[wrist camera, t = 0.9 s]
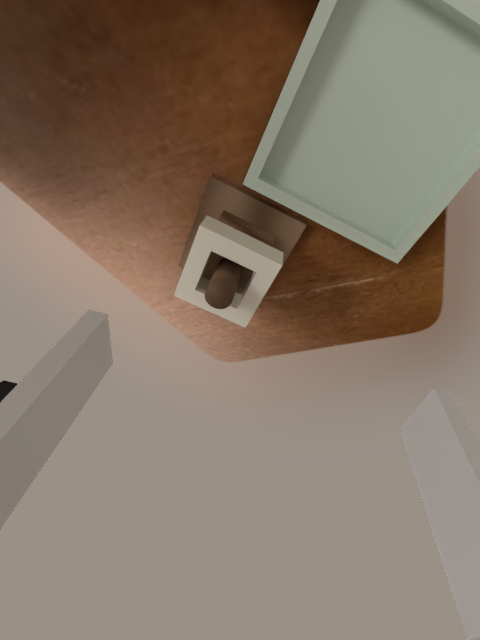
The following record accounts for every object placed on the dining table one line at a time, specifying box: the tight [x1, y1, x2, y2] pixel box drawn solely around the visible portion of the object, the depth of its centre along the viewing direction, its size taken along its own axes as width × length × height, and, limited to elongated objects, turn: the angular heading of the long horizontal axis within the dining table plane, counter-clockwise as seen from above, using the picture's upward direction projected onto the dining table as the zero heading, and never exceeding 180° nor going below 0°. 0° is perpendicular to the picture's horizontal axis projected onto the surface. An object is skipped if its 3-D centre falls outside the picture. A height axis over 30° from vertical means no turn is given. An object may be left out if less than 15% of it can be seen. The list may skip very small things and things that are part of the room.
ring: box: [174, 215, 283, 328], centre depth 27 cm, size 7×7×2 cm
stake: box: [179, 174, 307, 309], centre depth 28 cm, size 10×10×11 cm
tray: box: [243, 0, 480, 264], centre depth 24 cm, size 16×16×2 cm
